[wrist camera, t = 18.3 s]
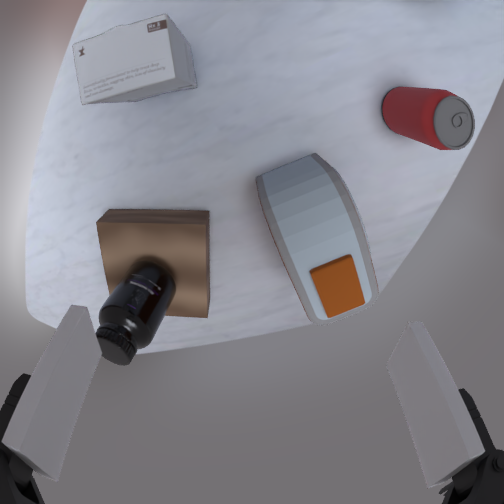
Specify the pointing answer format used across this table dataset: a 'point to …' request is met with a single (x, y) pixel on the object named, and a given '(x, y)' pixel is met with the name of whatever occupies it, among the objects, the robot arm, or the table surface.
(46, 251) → the table surface
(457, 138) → the beer can
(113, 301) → the supplement bottle
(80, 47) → the skincare box
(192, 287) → the walnut block
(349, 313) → the alarm clock
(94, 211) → the table surface
